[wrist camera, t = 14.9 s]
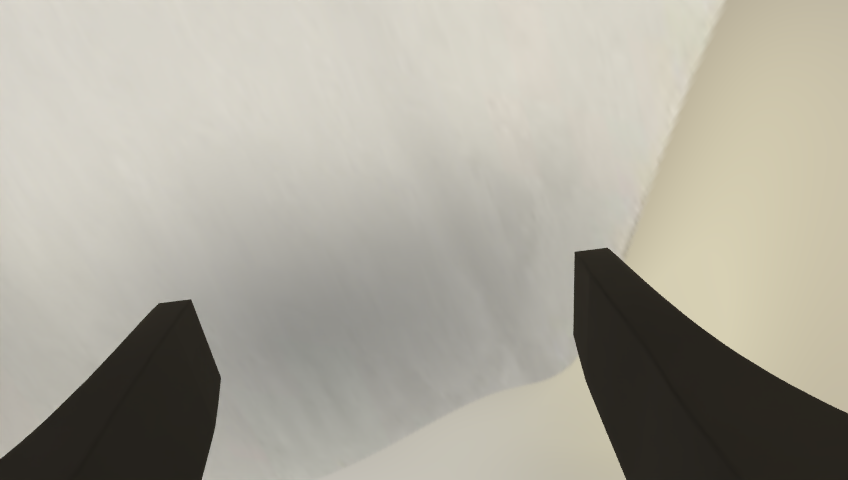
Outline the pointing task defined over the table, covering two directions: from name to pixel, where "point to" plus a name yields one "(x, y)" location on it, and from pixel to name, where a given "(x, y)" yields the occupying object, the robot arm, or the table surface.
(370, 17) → the table surface
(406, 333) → the table surface
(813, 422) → the robot arm
